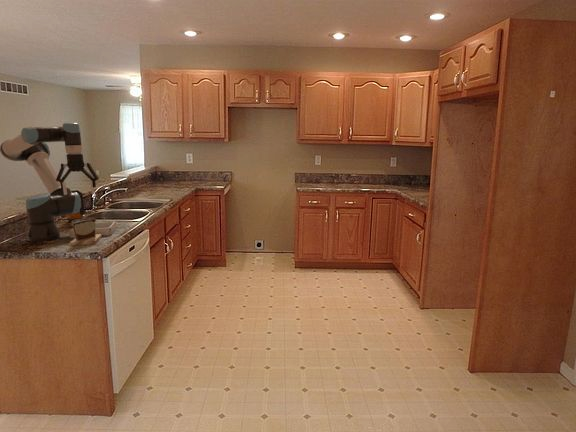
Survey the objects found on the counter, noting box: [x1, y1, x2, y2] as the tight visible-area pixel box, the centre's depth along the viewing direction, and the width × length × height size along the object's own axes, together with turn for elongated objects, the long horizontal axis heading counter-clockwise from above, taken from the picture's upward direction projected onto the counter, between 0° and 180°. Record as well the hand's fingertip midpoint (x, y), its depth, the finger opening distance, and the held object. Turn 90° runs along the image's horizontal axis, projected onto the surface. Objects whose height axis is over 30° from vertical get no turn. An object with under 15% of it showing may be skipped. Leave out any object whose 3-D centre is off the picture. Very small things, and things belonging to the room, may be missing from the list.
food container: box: [70, 217, 97, 241], centre depth 208 cm, size 12×6×10 cm, turn 144°
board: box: [69, 233, 103, 247], centre depth 210 cm, size 12×15×2 cm
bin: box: [68, 221, 117, 239], centre depth 226 cm, size 21×17×4 cm
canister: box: [66, 189, 86, 223], centre depth 256 cm, size 9×11×20 cm
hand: (79, 194), depth 213 cm, fingers open, 13 cm apart
